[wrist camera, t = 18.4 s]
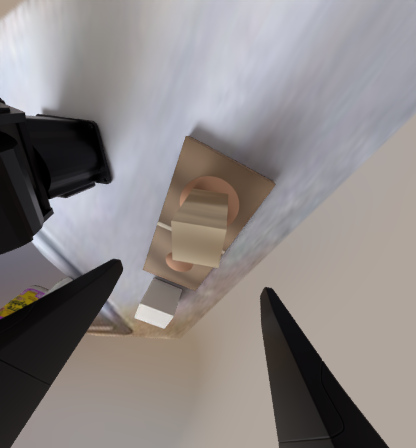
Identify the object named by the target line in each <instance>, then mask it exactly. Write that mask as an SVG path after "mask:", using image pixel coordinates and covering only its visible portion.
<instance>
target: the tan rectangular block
mask: <svg viewBox="0 0 416 448" xmlns="http://www.w3.org/2000/svg"><path fill="white" fill-rule="evenodd" d="M227 212H228V194H226V193H219V192H213V191H206V190H200V189H192V190H191V192H190V193H189V195H188V196H187V198H186V199H185V201H184V202H183V204H182V205H181V207H180V208H179V210H178V211H177V213H176V214H175V216H174V217H173V219H172V220H171V229H172V258H173V260H177V261H182V262H188V263H193V264H199V265H204V266H210V267H215V268H218V267H219V263H220V258H221V253H222V249H223V244H224V240H225V235H226V230H227Z"/></svg>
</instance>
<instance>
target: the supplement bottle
mask: <svg viewBox="0 0 416 448" xmlns="http://www.w3.org/2000/svg"><path fill="white" fill-rule="evenodd" d="M48 291H49V290H48V289H45V288H43V287H40V286H31V287H29V288H27V289H26V290H25V291H23V292H22V293H21V294H20V295H18V296H17V297H16V298H14V299H13V300H12V301H10V302H9V303H8V304H6V305H5V306H4V307H3V308H1V309H0V319H1V318H3V317H5V316H7V315H9V314H11V313H13V312H15V311H17V310H19V309H21V308H23V307H25V306H26V305H28V304H30V303H32V302H34V301H36V300H38V299H39V298H41V297H42V296H43V295H45V294H46V293H47V292H48Z"/></svg>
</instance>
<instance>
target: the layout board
mask: <svg viewBox="0 0 416 448" xmlns="http://www.w3.org/2000/svg"><path fill="white" fill-rule="evenodd" d="M274 186H275V183H274V182H273V181H271V180H270V179H268V178H266V177H264V176H262V175H260V174H259V173H257V172H255V171H253V170H251V169H249V168H247V167H246V166H244V165H242V164H240V163H238V162H236V161H235V160H233V159H231V158H229V157H227V156H225V155H224V154H222V153H220V152H218V151H216V150H214V149H212V148H211V147H209V146H207V145H205V144H203V143H201V142H200V141H198V140H196V139H194V138H192V137H190V136H186V137H185V140H184V143H183V146H182V149H181V153H180V156H179V159H178V162H177V165H176V168H175V171H174V174H173V177H172V181H171V184H170V187H169V190H168V193H167V196H166V199H165V202H164V205H163V208H162V212H161V215H160V218H159V221H158V224H157V227H156V230H155V233H154V236H153V239H152V243H151V246H150V249H149V252H148V255H147V258H146V261H145V264H144V267H143V270H144V271H147V272H149V273H152V274H154V275H157V276H159V277H162V278H164V279H167V280H169V281H172V282H174V283H177V284H179V285H182V286H184V287H187V288H189V289H192V290H194V291H196V289H197V288H198V287H199V285H200V284H201V283H202V281H203V280H204V279H205V277H206V276H207V275H208V273H209V272H210V271H211V270H212V268H213V267H210V266H204V265H199V264H193V263H188V262H182V261H177V260H173V258H172V229H171V220H172V219H173V217H174V216H175V214H176V213H177V211H178V210H179V208H180V207H181V205H182V204H183V202H184V201H185V199H186V198H187V196H188V195H189V193H190V192H191V190H192V189H200V190H206V191H213V192H219V193H226V194H228V212H227V230H226V235H225V240H224V244H223V249H222V253H221V256H222V255H223V254H224V253H225V251H226V250H227V248H228V247H229V246H230V244H231V243H232V242H233V240H234V239H235V238H236V236H237V235H238V234H239V233H240V231H241V230H242V229H243V227H244V226H245V225H246V223H247V222H248V221H249V219H250V218H251V217H252V215H253V214H254V213H255V211H256V210H257V209H258V207H259V206H260V205H261V203H262V202H263V201H264V199H265V198H266V197H267V195H268V194H269V193H270V192H271V190H272V189H273V188H274Z"/></svg>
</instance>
